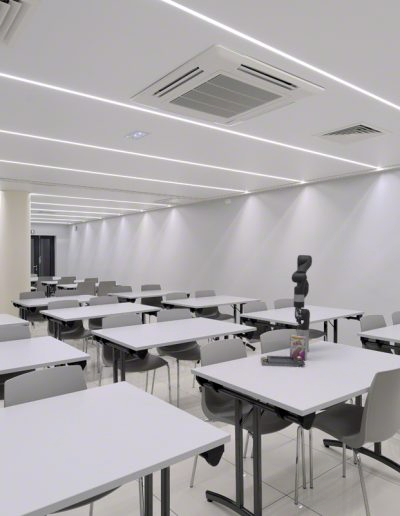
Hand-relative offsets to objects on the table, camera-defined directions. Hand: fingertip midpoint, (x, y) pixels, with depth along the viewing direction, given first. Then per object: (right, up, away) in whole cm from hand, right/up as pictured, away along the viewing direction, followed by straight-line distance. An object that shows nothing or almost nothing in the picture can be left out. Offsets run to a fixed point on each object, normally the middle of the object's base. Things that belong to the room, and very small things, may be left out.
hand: (298, 323), depth 282 cm
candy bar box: (0, -26, 0) cm, 26 cm away
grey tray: (-14, -26, -12) cm, 32 cm away
